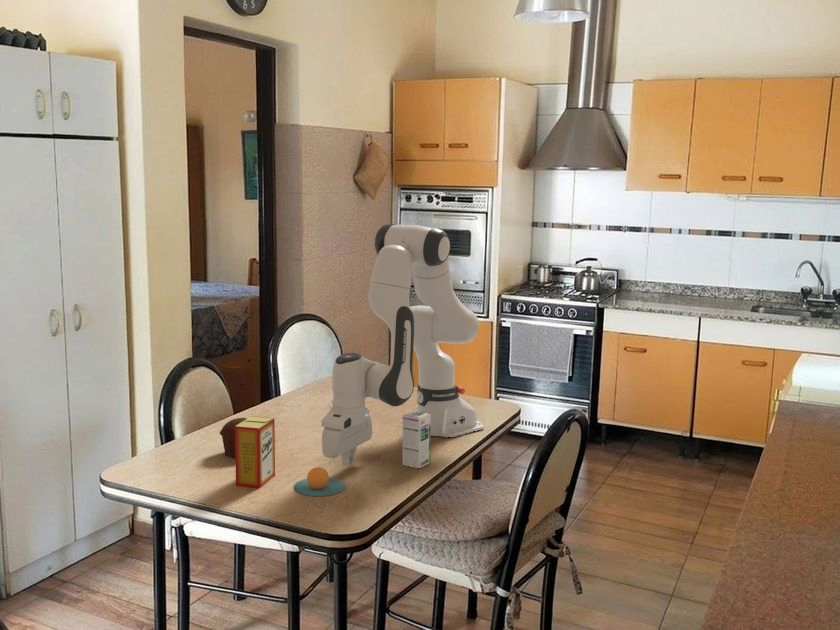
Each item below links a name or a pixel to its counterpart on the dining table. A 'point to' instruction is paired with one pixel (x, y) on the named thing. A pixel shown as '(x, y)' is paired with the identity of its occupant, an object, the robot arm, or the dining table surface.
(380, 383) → the robot arm
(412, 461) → the syrup box
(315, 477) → the ball
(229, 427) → the muffin
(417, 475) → the dining table surface
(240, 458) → the baking soda box
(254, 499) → the dining table surface
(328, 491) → the teal plate
